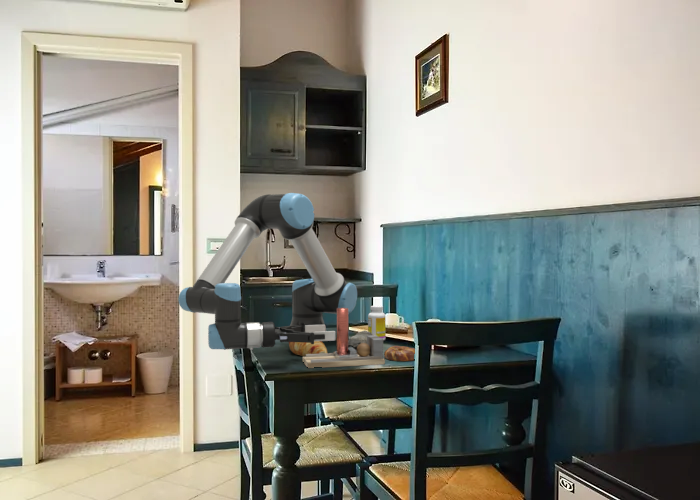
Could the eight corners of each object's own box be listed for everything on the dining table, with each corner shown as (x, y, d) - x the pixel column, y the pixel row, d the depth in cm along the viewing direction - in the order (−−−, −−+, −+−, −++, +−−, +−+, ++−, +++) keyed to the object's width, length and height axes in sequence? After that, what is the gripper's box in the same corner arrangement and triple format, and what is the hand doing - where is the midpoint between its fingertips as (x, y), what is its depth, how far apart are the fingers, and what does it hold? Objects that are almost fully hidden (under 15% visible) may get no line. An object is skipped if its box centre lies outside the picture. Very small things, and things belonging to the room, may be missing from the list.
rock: (360, 354, 200) (360, 334, 200) (340, 351, 205) (339, 332, 205) (382, 348, 211) (382, 330, 211) (362, 346, 216) (362, 328, 216)
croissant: (333, 368, 195) (342, 345, 197) (311, 357, 189) (320, 334, 191) (296, 357, 211) (304, 336, 213) (274, 346, 205) (284, 325, 207)
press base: (302, 361, 189) (302, 337, 189) (375, 357, 195) (375, 334, 194) (308, 368, 179) (308, 343, 179) (384, 364, 185) (384, 339, 185)
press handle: (333, 355, 190) (333, 307, 189) (352, 354, 191) (352, 306, 191) (338, 359, 183) (338, 310, 182) (357, 358, 184) (357, 309, 184)
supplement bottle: (388, 339, 229) (388, 305, 229) (381, 342, 224) (381, 307, 223) (372, 337, 232) (372, 305, 232) (365, 340, 227) (365, 306, 226)
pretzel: (375, 357, 196) (375, 346, 196) (401, 354, 202) (401, 343, 202) (399, 364, 186) (399, 352, 186) (425, 360, 193) (425, 348, 192)
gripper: (256, 340, 192) (321, 337, 197) (266, 355, 168) (339, 351, 173) (256, 317, 192) (321, 315, 197) (266, 328, 168) (339, 325, 173)
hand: (330, 332), depth 185 cm, fingers open, 13 cm apart
